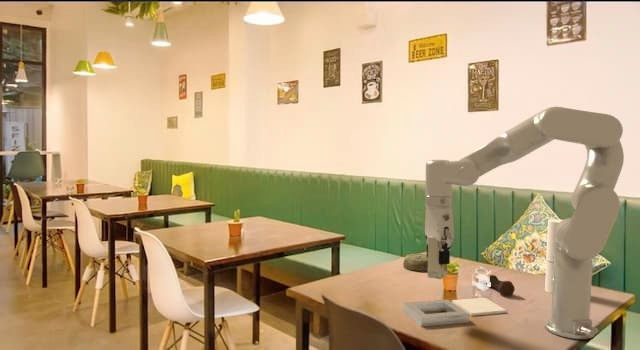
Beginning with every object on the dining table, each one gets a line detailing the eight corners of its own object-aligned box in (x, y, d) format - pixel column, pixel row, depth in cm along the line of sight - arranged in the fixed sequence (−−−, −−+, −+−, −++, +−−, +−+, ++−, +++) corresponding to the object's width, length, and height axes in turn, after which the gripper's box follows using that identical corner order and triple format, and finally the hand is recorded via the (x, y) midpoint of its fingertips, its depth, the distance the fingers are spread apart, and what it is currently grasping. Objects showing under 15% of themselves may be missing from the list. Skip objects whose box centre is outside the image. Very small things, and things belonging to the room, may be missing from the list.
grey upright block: (441, 280, 140) (442, 238, 140) (427, 278, 143) (427, 237, 142) (447, 274, 146) (448, 234, 145) (433, 272, 148) (434, 233, 147)
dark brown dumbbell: (487, 288, 179) (509, 300, 165) (476, 282, 179) (497, 293, 164) (494, 274, 180) (517, 285, 165) (483, 268, 179) (505, 278, 164)
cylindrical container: (565, 295, 165) (568, 223, 163) (542, 291, 170) (545, 221, 168) (569, 290, 171) (572, 220, 169) (547, 286, 175) (550, 218, 173)
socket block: (468, 322, 141) (469, 313, 141) (421, 326, 137) (421, 318, 137) (447, 307, 153) (447, 299, 153) (403, 310, 150) (403, 302, 150)
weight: (417, 274, 191) (417, 261, 191) (396, 266, 203) (396, 254, 202) (443, 269, 198) (443, 257, 197) (421, 262, 209) (421, 250, 209)
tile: (506, 312, 149) (506, 310, 149) (471, 315, 146) (471, 313, 146) (484, 299, 160) (484, 297, 160) (451, 302, 158) (451, 300, 158)
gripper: (465, 205, 135) (464, 267, 136) (436, 197, 152) (435, 253, 153) (440, 206, 133) (439, 269, 135) (414, 198, 150) (413, 254, 152)
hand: (437, 260), depth 144 cm, fingers closed on grey upright block, 7 cm apart
